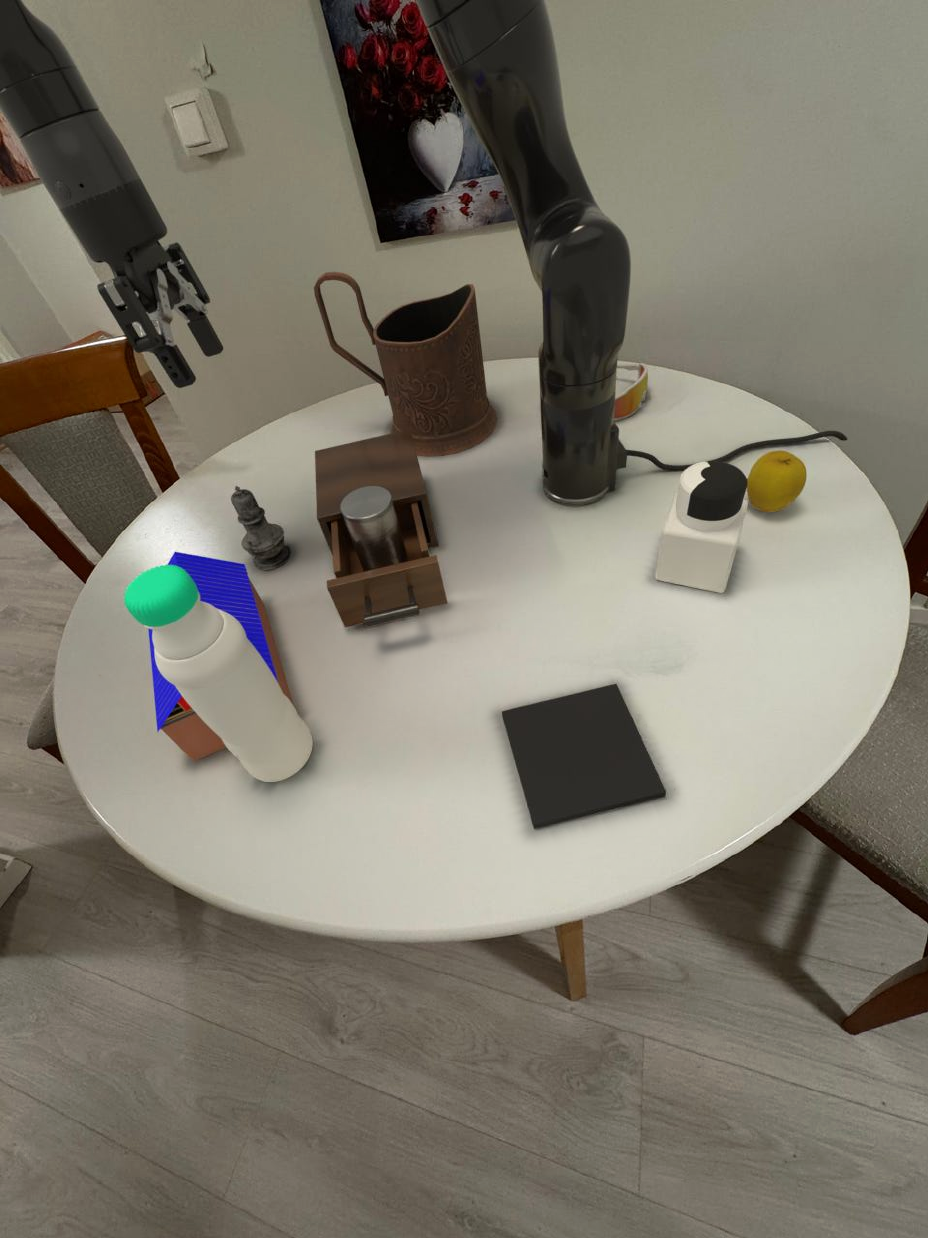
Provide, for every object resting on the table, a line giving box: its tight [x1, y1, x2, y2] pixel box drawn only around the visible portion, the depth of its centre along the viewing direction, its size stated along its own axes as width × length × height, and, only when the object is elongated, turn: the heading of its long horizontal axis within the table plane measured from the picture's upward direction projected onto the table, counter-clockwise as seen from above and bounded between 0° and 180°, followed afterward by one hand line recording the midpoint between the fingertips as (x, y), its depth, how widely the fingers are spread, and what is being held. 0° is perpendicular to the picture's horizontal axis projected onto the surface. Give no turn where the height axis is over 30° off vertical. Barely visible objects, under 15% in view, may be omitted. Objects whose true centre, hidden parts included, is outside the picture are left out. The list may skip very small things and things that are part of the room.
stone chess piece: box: [230, 485, 292, 571], centre depth 77 cm, size 6×6×12 cm
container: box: [654, 460, 749, 594], centre depth 65 cm, size 8×8×13 cm
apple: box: [746, 449, 808, 513], centre depth 71 cm, size 6×6×8 cm
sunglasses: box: [614, 362, 649, 421], centre depth 96 cm, size 14×15×5 cm
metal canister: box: [340, 486, 409, 572], centre depth 69 cm, size 6×6×11 cm
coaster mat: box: [501, 683, 667, 830], centre depth 55 cm, size 12×12×1 cm
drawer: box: [326, 501, 449, 628], centre depth 70 cm, size 19×13×7 cm
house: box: [147, 551, 296, 762], centre depth 64 cm, size 12×20×12 cm, turn 24°
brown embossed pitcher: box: [313, 271, 499, 457], centre depth 90 cm, size 18×24×25 cm
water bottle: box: [123, 564, 314, 783], centre depth 51 cm, size 7×7×25 cm
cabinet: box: [314, 429, 439, 557], centre depth 80 cm, size 16×14×9 cm
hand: (202, 368), depth 62 cm, fingers open, 8 cm apart
